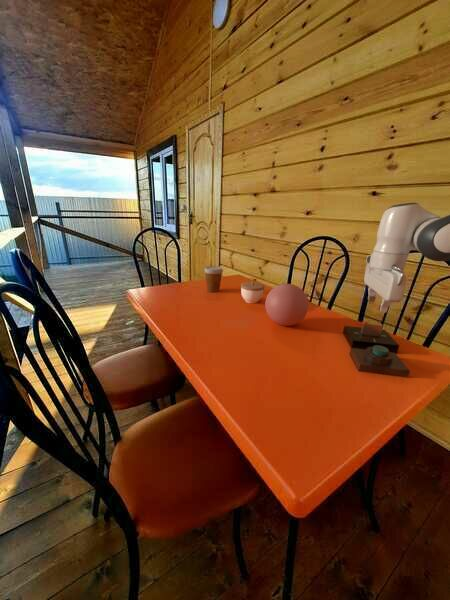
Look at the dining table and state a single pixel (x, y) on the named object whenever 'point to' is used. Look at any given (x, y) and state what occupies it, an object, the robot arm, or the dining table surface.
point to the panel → (369, 339)
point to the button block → (378, 363)
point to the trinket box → (252, 291)
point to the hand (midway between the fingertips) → (376, 306)
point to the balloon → (286, 304)
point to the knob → (371, 329)
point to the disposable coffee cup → (213, 278)
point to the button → (380, 351)
